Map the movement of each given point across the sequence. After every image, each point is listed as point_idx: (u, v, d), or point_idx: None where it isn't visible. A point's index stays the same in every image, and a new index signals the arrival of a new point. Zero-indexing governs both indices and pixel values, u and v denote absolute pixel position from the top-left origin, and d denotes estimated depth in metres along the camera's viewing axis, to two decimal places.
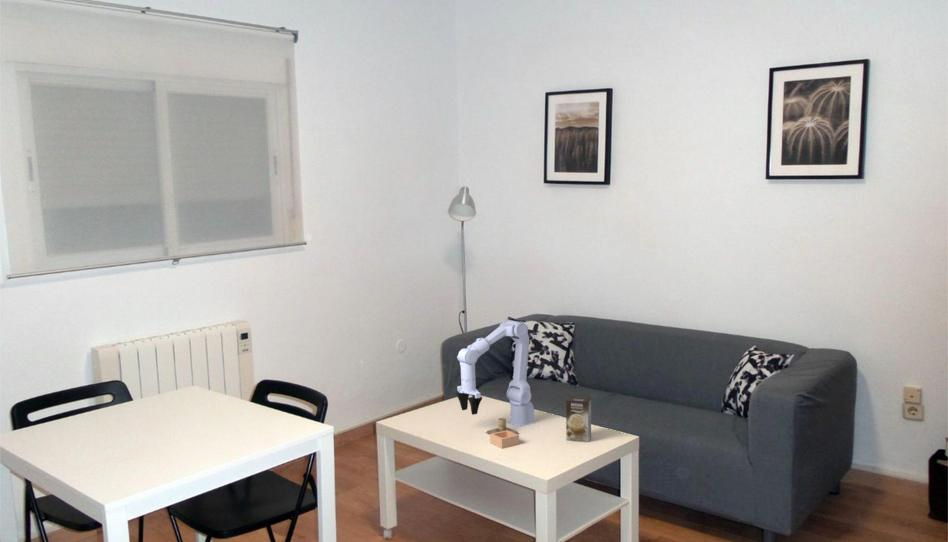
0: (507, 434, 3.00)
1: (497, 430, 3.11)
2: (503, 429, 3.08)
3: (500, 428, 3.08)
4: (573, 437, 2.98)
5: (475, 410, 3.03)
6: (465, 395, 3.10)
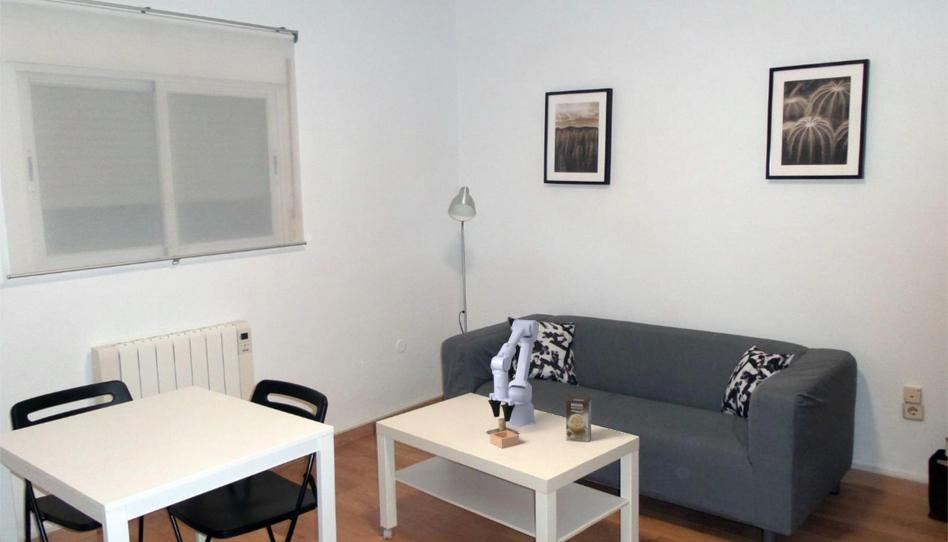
0: (507, 434, 3.00)
1: (497, 430, 3.11)
2: (503, 429, 3.08)
3: (500, 428, 3.08)
4: (573, 437, 2.98)
5: (508, 417, 3.05)
6: (498, 402, 3.12)
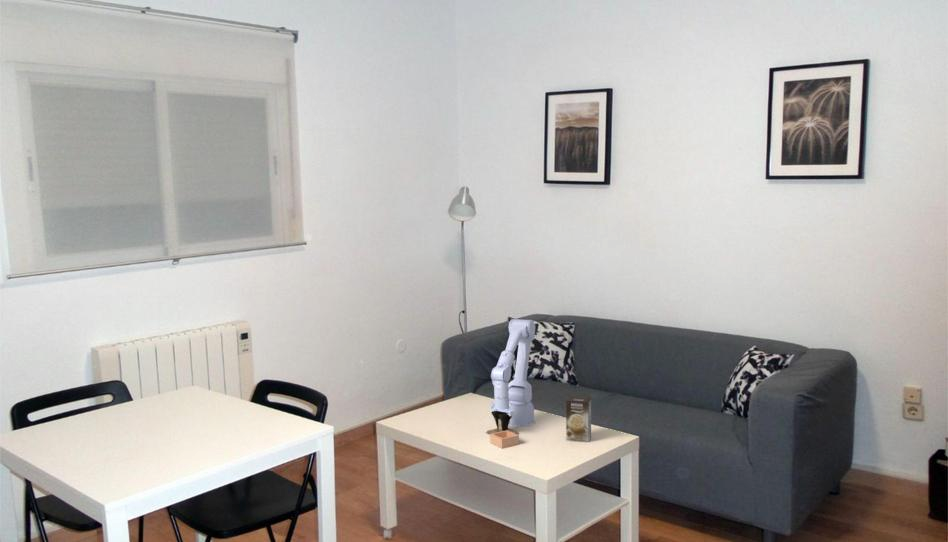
0: (507, 434, 3.00)
1: (497, 430, 3.11)
2: None
3: (500, 428, 3.08)
4: (573, 437, 2.98)
5: (505, 426, 3.07)
6: (501, 413, 3.10)
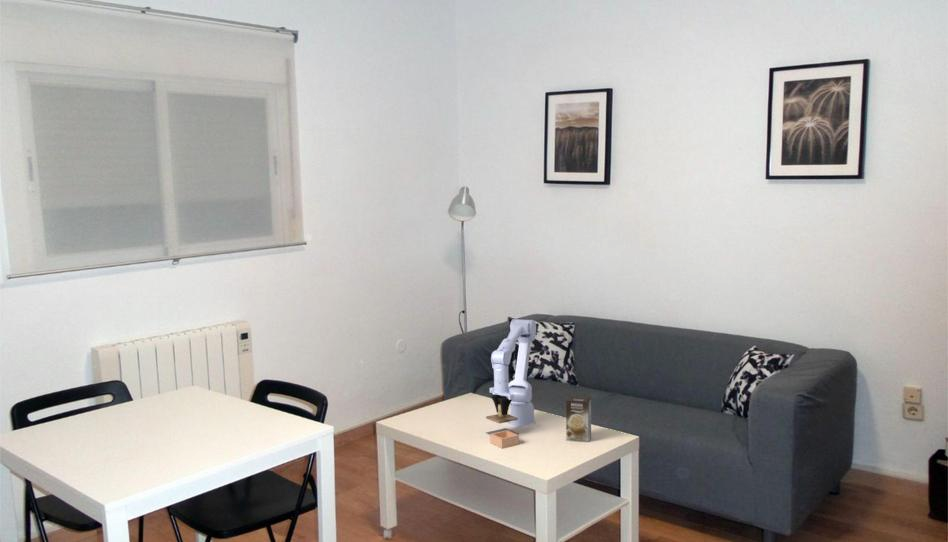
0: (507, 434, 3.00)
1: (496, 416, 3.07)
2: (503, 415, 3.04)
3: (500, 414, 3.04)
4: (573, 437, 2.98)
5: (505, 410, 3.04)
6: (500, 398, 3.07)
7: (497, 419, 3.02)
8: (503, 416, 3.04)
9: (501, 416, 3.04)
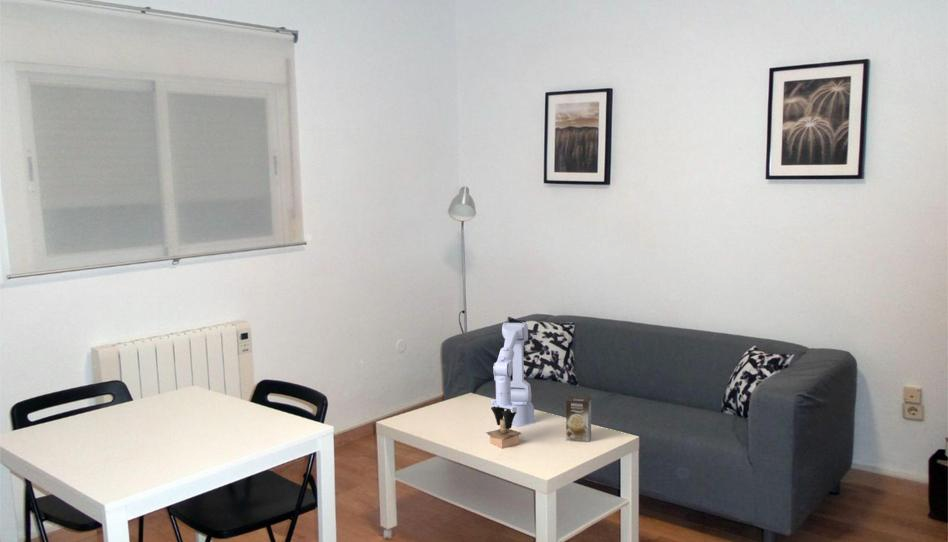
0: None
1: (498, 431, 2.97)
2: (505, 430, 2.95)
3: (502, 429, 2.95)
4: (573, 437, 2.98)
5: (509, 424, 2.93)
6: (501, 409, 2.98)
7: (500, 435, 2.93)
8: (506, 431, 2.95)
9: (504, 432, 2.95)
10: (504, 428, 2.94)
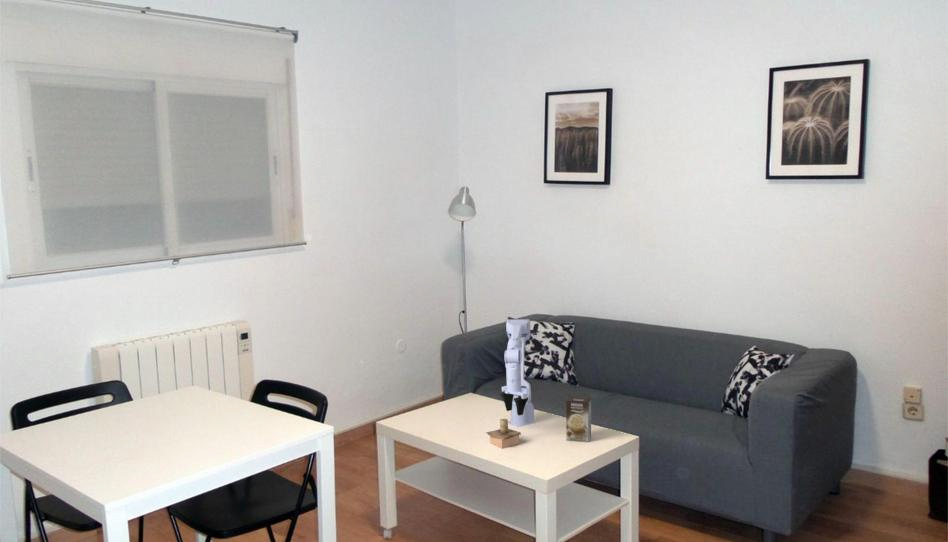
0: None
1: (498, 431, 2.97)
2: (505, 430, 2.95)
3: (502, 429, 2.95)
4: (573, 437, 2.98)
5: (520, 411, 2.99)
6: (510, 395, 3.06)
7: (500, 435, 2.93)
8: (506, 431, 2.95)
9: (504, 432, 2.95)
10: (504, 428, 2.94)
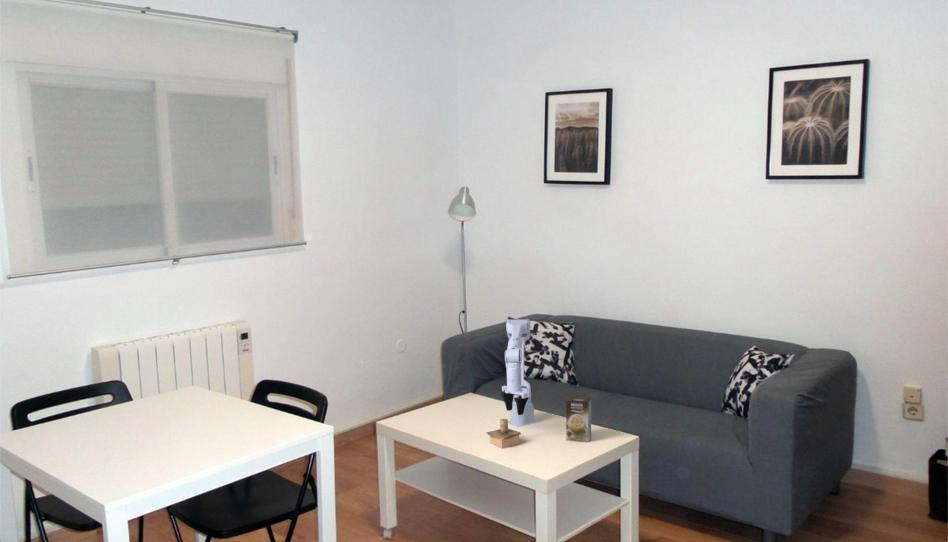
0: None
1: (498, 431, 2.97)
2: (505, 430, 2.95)
3: (502, 429, 2.95)
4: (573, 437, 2.98)
5: (521, 410, 2.99)
6: (510, 395, 3.06)
7: (500, 435, 2.93)
8: (506, 431, 2.95)
9: (504, 432, 2.95)
10: (504, 428, 2.94)
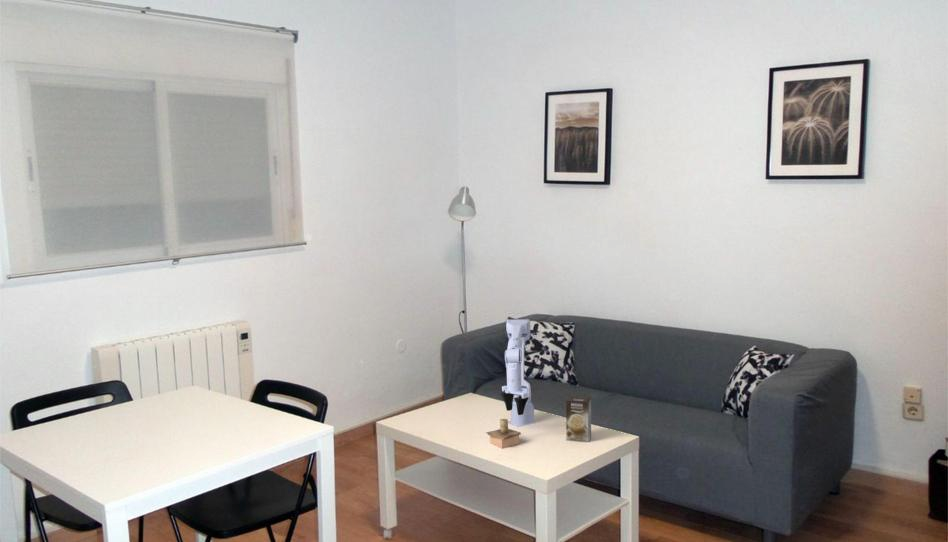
0: None
1: (498, 431, 2.97)
2: (505, 430, 2.95)
3: (502, 429, 2.95)
4: (573, 437, 2.98)
5: (521, 410, 2.99)
6: (510, 395, 3.06)
7: (500, 435, 2.93)
8: (506, 431, 2.95)
9: (504, 432, 2.95)
10: (504, 428, 2.94)
